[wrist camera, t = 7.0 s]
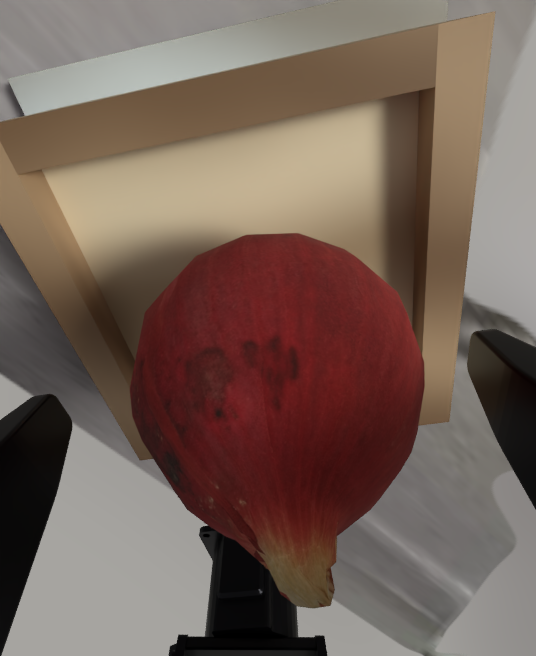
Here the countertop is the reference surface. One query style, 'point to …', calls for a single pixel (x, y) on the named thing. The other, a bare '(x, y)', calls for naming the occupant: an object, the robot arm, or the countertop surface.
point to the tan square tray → (252, 168)
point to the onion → (279, 398)
